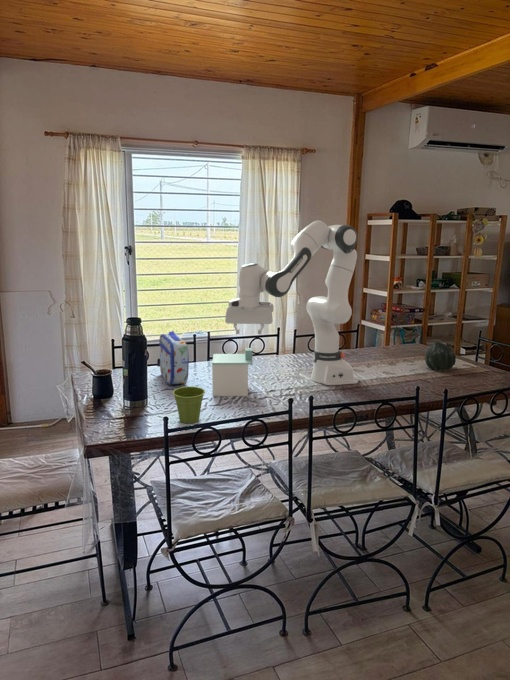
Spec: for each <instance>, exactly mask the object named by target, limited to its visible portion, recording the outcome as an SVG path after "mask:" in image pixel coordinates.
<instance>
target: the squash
mask: <svg viewBox="0 0 510 680" xmlns="http://www.w3.org/2000/svg"><path fill="white" fill-rule="evenodd" d="M424 358H425V359H424V360H425V364H426V366H427V367H428V368H429V369H431V370H434V371H437V372H439V371H441V372H445V371H447V370H451V369H452V368H453V367H454V366H455V365H456V359H457V357H456V354H455V352H454V350H453V349H452V348H451V347H449V346H448V345H447V344H445V343H442V342H440V341H435V342H434V343H433V344H432V345H431V346H430V347H429V349H427V351H426V353H425V356H424ZM438 370H439V371H438Z"/></svg>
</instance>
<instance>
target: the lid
mask: <svg viewBox="0 0 510 680" xmlns="http://www.w3.org/2000/svg"><path fill="white" fill-rule="evenodd" d="M211 363H212V365H248V366H249V365H250V366H251V365H252V366H253V365H254V364H253V363H254V362H253V347H245V348H244V353H213V356H212V362H211ZM212 365H211V366H212Z"/></svg>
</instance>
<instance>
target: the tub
mask: <svg viewBox="0 0 510 680" xmlns="http://www.w3.org/2000/svg"><path fill="white" fill-rule="evenodd" d="M211 368H212V371H211V372H212V373H211V375H212V377H211V378H212V397H248V396H249V388H248V387H249V365H211Z"/></svg>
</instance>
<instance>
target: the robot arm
mask: <svg viewBox="0 0 510 680" xmlns="http://www.w3.org/2000/svg"><path fill="white" fill-rule="evenodd" d="M357 242H358V232H357V230H356V228H355V227H353V226H351V225H348V224H334V225H327V224H326V223H325V222H324V221H322V220H319V219H318V220H314V221H313V222H311V223H310V224H308V225H306V226H305V227H304V228H303V229H302V230H301V231H299V232H298V234H297V235H295V237H293V239H292V241H291V242H290V250H291V253H292V255H293V257H292V259H291V260H290V261H289V262H288V263H287V265H286V266H285V267H284V268H283V269H281V270H280V271H271V270H269V269H266V268H264V267H263V266H261V265H260V264H259V263H257V262H251V263H250V262H249V263H244V264H242V265H241V267H240V270H239V275H238V277H239V278H238V285H239V286H238V287H239V293H238V297H235V298H232V299H230V300H228V306H227V308H226V311H225V320H224V322H225V324H227V325H230V324H232V325H233V328H234V330H235V334H236V335H240V329H238V327H237V326H238V325H245V324H246V325H260V328H259V329H257V334H258V335H262V331H263V329H264V328H265V325H271V324H272V323H273V311H274V307H275V306H274V304H273V303H271V302H268V301H267V302H265V301H261V300H260V298H261V297H260V296H261V295H260V294H261V293H264V294H266V295H271V297H275V298H282V297H284V296H286V295H287V294H288V293H289V291H290V290H291V287H292V285H293V283H294V281H295V280H296V279H297V277H298V276H299V275H300V274H301V272H302V271H303V270H304V268H306V267H307V265H308V264H309V262H310V261H311V259H312V257H313V256H314V255H315V254H316V252H317V251H319V250H320V248H322V249H324V250H329V251H332V253H333V254H332V255H333V258H332V260H331V263H330V266H329V268H328V272H327V275H326V277H325V280H324V282H325V286H326V287H327V296H323V295H320V296H319V295H317V296H313V297H311V298H309V299H308V301H307V302H306V312H307V314H308V315H309V317H310V320H311V322H312V326H313V329H314V349H313V354H312V355H313V359H312V360H313V366H312V372H311V375H310V380H311V381H312V382H314V383H319V384H323V385H326V386H337V385H353V384H358V383H359V377H358V376H357V375H356V374H355V371H354V368H353V367H352V365H351V364H350V363H349V362H347V361H346V360H345V359H344V358H345V357H346V354H345V353H344V352H343V351H341V350H339V347H340V346H339V345H340V334H339V332H338V330H337V329H336V327H335V324H336V325H342V324H346V323H347V322H349V320H350V318H351V316H352V315H353V314H352V313H353V312H352V311H353V310H352V306H351V305H350V302H349V288H350V285H351V281H352V278H353V275H354V273H355V272H354V271H355V268H356V263H357V260H358V259H357V258H358V253H357V250H356V248H357Z"/></svg>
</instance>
